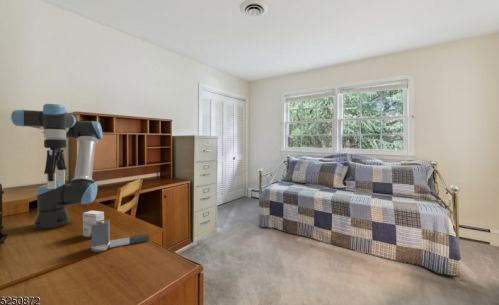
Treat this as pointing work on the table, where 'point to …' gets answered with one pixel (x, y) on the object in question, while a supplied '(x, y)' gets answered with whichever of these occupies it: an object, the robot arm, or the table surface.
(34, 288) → the table surface
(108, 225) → the cube with brass button
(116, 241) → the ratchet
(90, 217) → the ink box
